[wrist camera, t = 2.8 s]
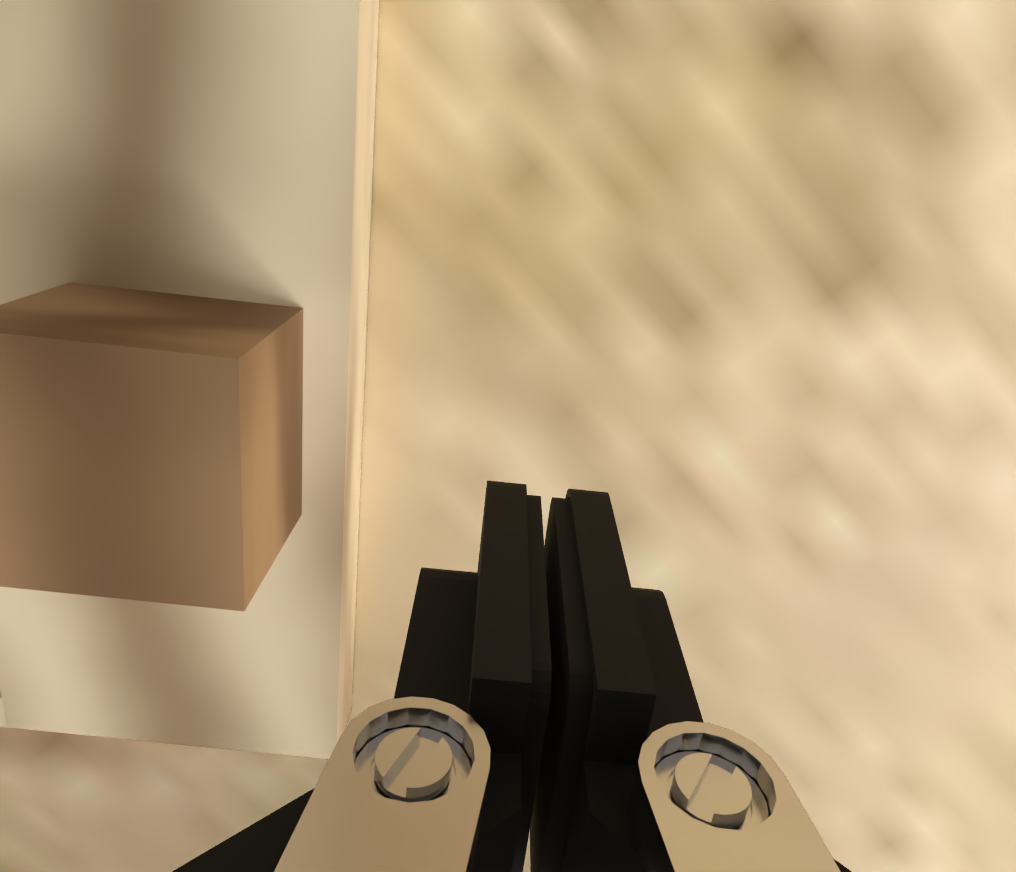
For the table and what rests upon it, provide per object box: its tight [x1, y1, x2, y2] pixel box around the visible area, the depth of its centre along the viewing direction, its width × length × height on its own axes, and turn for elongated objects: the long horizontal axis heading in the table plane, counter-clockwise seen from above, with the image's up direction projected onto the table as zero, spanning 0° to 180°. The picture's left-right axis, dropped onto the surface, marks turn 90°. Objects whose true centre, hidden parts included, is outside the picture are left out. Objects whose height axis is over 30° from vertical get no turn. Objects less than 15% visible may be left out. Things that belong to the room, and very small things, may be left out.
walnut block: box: [0, 282, 303, 611], centre depth 15 cm, size 5×5×4 cm
